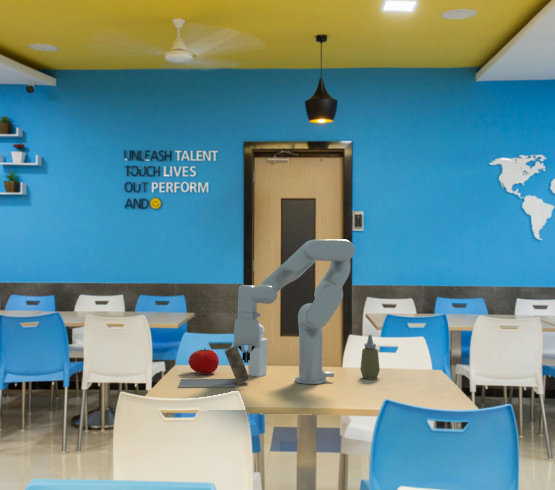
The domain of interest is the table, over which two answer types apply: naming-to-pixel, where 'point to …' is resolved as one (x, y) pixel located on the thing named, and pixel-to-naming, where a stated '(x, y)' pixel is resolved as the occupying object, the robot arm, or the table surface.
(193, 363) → the tomato
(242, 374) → the walnut block
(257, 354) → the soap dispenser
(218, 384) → the grey rubber mat
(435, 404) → the table surface
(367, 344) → the squeeze bottle
